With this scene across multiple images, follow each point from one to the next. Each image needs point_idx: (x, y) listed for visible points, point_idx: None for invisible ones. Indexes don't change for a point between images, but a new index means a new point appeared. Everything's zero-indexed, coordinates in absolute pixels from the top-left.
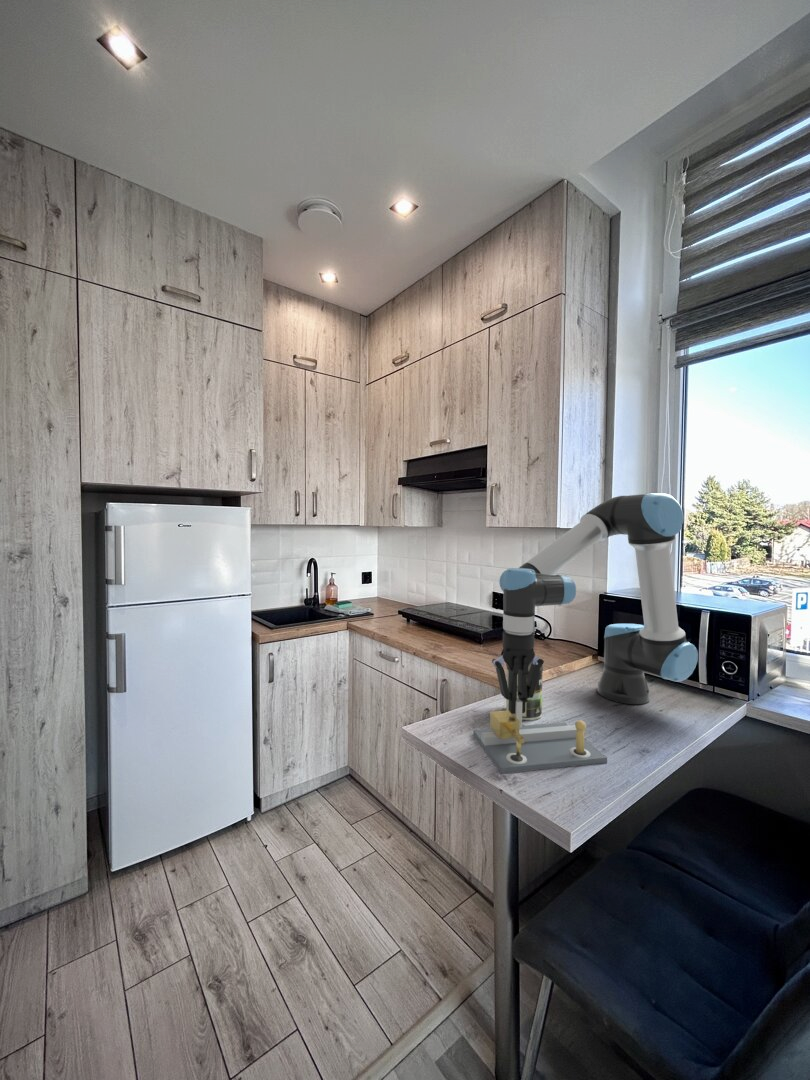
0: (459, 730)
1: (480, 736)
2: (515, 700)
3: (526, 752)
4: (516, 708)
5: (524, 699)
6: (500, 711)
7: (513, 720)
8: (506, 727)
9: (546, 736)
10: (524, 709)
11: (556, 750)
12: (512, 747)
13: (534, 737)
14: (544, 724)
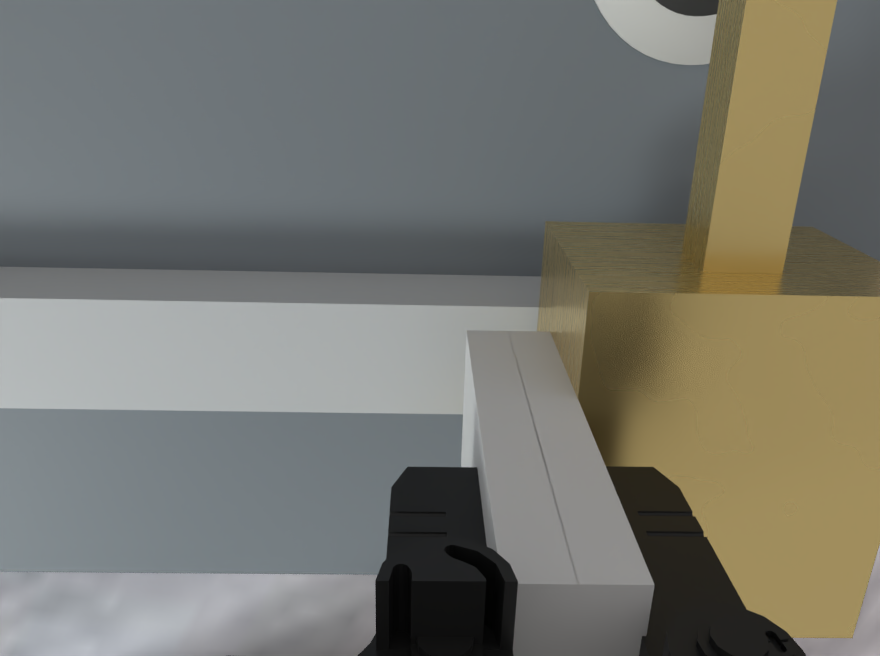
0: (863, 623)
1: None
2: (695, 624)
3: (511, 53)
4: (613, 497)
5: (463, 609)
6: None
7: (684, 320)
8: (785, 266)
9: (136, 281)
10: (409, 502)
11: (129, 21)
12: (611, 189)
13: (292, 284)
14: (37, 561)
